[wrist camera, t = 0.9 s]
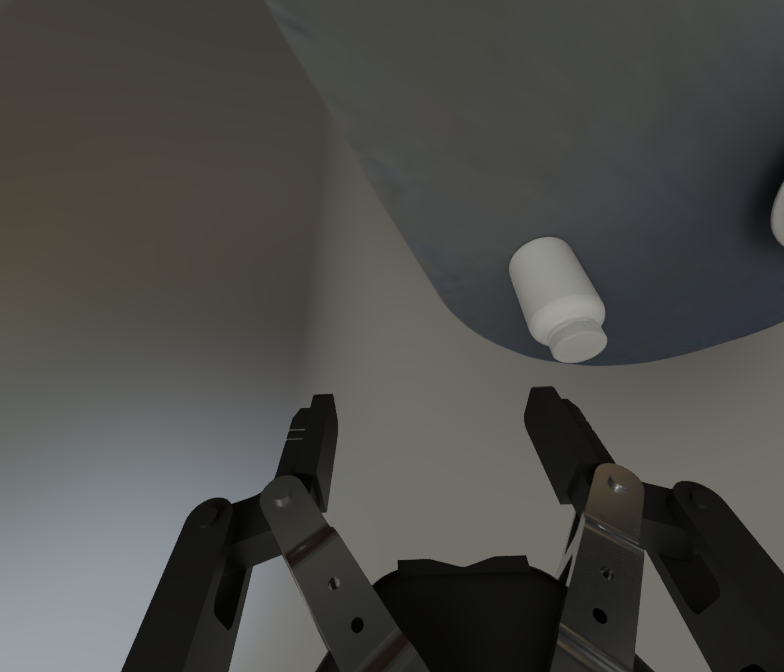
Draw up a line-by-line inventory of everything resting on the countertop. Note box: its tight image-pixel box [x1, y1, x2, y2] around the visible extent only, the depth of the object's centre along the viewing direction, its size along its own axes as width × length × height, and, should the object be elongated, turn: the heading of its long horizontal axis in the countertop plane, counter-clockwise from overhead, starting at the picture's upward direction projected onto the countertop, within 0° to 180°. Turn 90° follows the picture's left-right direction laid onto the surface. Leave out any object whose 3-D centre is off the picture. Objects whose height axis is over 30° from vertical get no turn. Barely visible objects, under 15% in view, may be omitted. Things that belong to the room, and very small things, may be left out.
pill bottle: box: [509, 237, 607, 363], centre depth 40 cm, size 8×8×15 cm
